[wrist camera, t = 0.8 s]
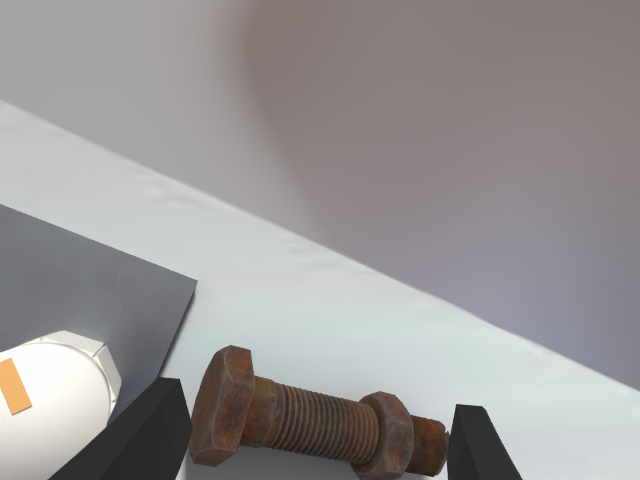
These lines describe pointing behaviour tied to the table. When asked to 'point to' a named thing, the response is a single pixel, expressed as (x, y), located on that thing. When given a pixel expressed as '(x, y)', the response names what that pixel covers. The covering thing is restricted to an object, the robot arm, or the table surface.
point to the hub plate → (88, 297)
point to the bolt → (309, 423)
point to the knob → (52, 402)
